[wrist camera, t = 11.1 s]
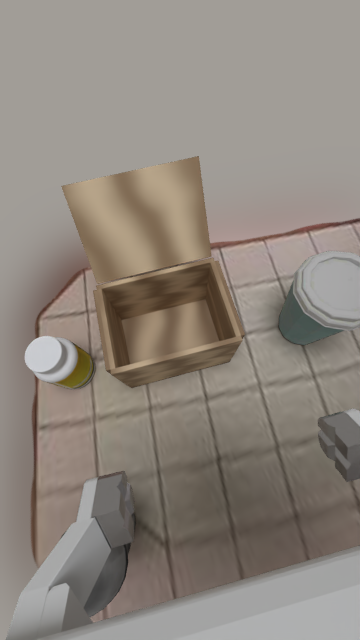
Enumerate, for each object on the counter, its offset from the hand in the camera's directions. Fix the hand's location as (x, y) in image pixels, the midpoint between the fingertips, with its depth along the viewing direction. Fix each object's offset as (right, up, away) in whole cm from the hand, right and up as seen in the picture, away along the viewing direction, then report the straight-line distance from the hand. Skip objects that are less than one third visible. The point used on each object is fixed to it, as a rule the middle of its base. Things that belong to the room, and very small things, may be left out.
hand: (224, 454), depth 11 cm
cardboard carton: (-3, +2, +35) cm, 35 cm away
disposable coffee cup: (+18, +5, +35) cm, 40 cm away
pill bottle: (-18, -3, +34) cm, 38 cm away
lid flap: (-6, +17, +23) cm, 29 cm away
